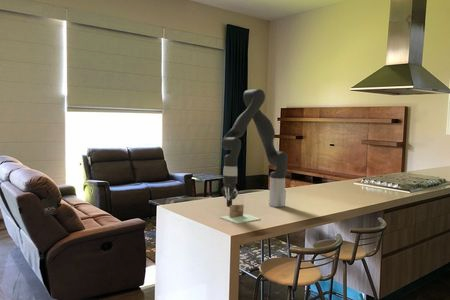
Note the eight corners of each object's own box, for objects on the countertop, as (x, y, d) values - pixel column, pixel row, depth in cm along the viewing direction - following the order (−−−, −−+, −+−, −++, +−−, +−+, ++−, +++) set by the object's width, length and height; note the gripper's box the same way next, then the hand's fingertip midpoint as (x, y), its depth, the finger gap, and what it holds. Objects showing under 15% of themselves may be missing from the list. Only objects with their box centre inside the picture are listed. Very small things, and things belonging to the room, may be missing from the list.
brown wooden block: (241, 215, 203) (241, 204, 202) (243, 215, 202) (243, 204, 201) (229, 217, 198) (229, 205, 198) (231, 217, 197) (231, 206, 196)
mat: (243, 214, 208) (243, 213, 208) (260, 219, 197) (260, 218, 197) (219, 217, 198) (219, 216, 198) (236, 224, 187) (236, 222, 187)
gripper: (243, 175, 200) (242, 208, 202) (228, 172, 211) (227, 203, 212) (232, 176, 196) (231, 210, 197) (217, 173, 206) (216, 205, 207)
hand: (229, 206), depth 204 cm, fingers closed
